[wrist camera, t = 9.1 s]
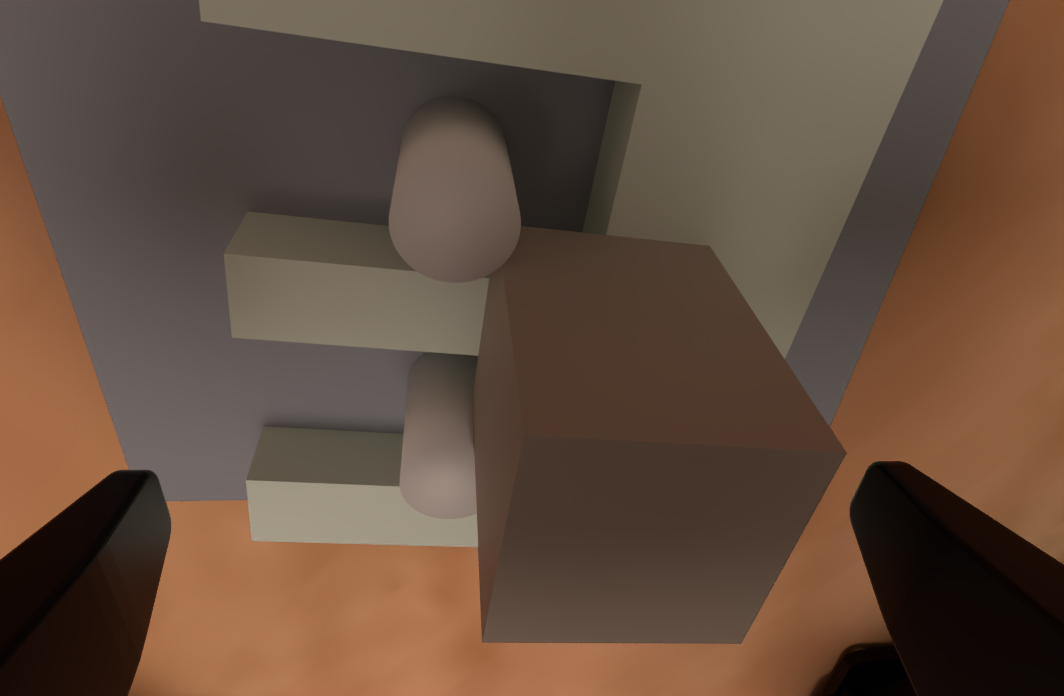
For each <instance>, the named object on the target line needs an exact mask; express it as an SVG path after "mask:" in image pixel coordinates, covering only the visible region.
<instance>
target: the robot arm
mask: <svg viewBox="0 0 1064 696" xmlns="http://www.w3.org/2000/svg"><path fill="white" fill-rule="evenodd" d="M850 520H851V524H852V527H853V530H854V533H855V536H856V539H857V542H858V545H859V548H860V551H861V554H862V557H863V560H864V563H865V566H866V569H867V572H868V575H869V578H870V581H871V584H872V587H873V590H874V593H875V596H876V599H877V602H878V605H879V608H880V610H881V613H882V616H883V619H884V621H885V624H886V627H887V629H888V631H889V634H890V636H891V639H892V641H893V643H894V646H895V648H891V649H869V650H858V651H854V652H852V653H850V654H848V655H847V656H846V657H845V658H844V659H843V661H842V662H841V664H840V666H839V668H838V669H837V671H836V673H835V675H834V676H833V678H832V680H831V681H830V683H829V685H828V687H827V688H826V690H825V692H824V694H823V695H822V696H1064V565H1063V564H1062V563H1060V562H1059V561H1057V560H1056V559H1054V558H1053V557H1051V556H1050V555H1048V554H1046V553H1045V552H1043V551H1042V550H1040V549H1039V548H1037V547H1036V546H1034V545H1033V544H1031V543H1030V542H1028V541H1026V540H1025V539H1023V538H1022V537H1020V536H1019V535H1017V534H1016V533H1014V532H1013V531H1011V530H1010V529H1008V528H1006V527H1005V526H1003V525H1002V524H1000V523H999V522H997V521H996V520H994V519H993V518H991V517H990V516H988V515H987V514H985V513H983V512H982V511H980V510H979V509H977V508H976V507H974V506H973V505H971V504H970V503H968V502H967V501H965V500H963V499H962V498H960V497H959V496H957V495H956V494H954V493H953V492H951V491H950V490H948V489H947V488H945V487H943V486H942V485H940V484H939V483H937V482H936V481H934V480H933V479H931V478H930V477H928V476H927V475H925V474H923V473H922V472H920V471H919V470H917V469H916V468H914V467H913V466H911V465H910V464H908V463H905V462H901V461H878V462H874V463H873V464H871V465H870V466H869V467H868V469H867V470H866V472H865V474H864V477H863V479H862V481H861V483H860V485H859V487H858V489H857V491H856V493H855V495H854V497H853V499H852V502H851V505H850ZM170 534H171V518H170V514H169V511H168V507H167V504H166V501H165V498H164V495H163V491H162V488H161V485H160V482H159V479H158V477H157V475H156V474H155V473H154V472H153V471H151V470H118V471H115V472H113V473H111V474H110V475H108V476H107V477H106V478H104V479H103V480H102V481H100V482H99V483H98V484H97V485H95V486H94V487H93V488H91V489H90V490H89V491H88V492H86V493H85V494H84V495H83V496H81V497H80V498H79V499H77V500H76V501H75V502H74V503H72V504H71V505H70V506H68V507H67V508H66V509H65V510H63V511H62V512H61V513H59V514H58V515H57V516H56V517H54V518H53V519H52V520H50V521H49V522H48V523H47V524H45V525H44V526H43V527H42V528H40V529H39V530H38V531H36V532H35V533H34V534H33V535H31V536H30V537H29V538H27V539H26V540H25V541H24V542H22V543H21V544H20V545H18V546H17V547H16V548H15V549H13V550H12V551H11V552H9V553H8V554H7V555H6V556H4V557H3V558H2V559H1V560H0V696H128V694H129V691H130V688H131V685H132V683H133V680H134V677H135V674H136V671H137V668H138V665H139V662H140V659H141V655H142V651H143V647H144V644H145V640H146V636H147V632H148V627H149V623H150V619H151V615H152V611H153V606H154V602H155V598H156V594H157V590H158V585H159V581H160V577H161V573H162V569H163V564H164V560H165V556H166V552H167V548H168V543H169V539H170Z"/></svg>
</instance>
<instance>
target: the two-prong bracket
mask: <svg viewBox="0 0 1064 696" xmlns="http://www.w3.org/2000/svg"><path fill="white" fill-rule="evenodd" d="M942 3H943V0H199V6H200V17H201V21H204V22H211V23H218V24H225V25H232V26H239V27H246V28H252V29H259V30H266V31H273V32H280V33H287V34H294V35H301V36H308V37H315V38H322V39H329V40H336V41H343V42H350V43H357V44H364V45H371V46H378V47H384V48H391V49H398V50H405V51H412V52H419V53H426V54H433V55H440V56H447V57H454V58H461V59H468V60H475V61H482V62H489V63H496V64H503V65H510V66H517V67H523V68H530V69H537V70H544V71H551V72H558V73H565V74H572V75H579V76H586V77H593V78H600V79H607V80H614V81H615V84H614V89H613V93H612V98H611V103H610V107H609V112H608V116H607V121H606V126H605V130H604V135H603V139H602V144H601V149H600V153H599V158H598V162H597V167H596V172H595V176H594V181H593V186H592V190H591V195H590V199H589V204H588V209H587V213H586V218H585V222H584V227H583V232H573V231H564V230H554V229H545V228H535V227H526V226H521V230H520V236H519V239H518V243H517V245H516V247H515V249H514V251H513V253H512V254H511V256H510V257H509V258H508V260H507V261H506V262H505V263H504V264H503V265H502V266H501V267H500V268H498V269H497V270H496V271H494V272H493V273H491V274H489V275H487V276H485V277H483V278H480V279H478V280H474V281H470V282H463V283H449V282H442V281H438V280H434V279H431V278H429V277H426V276H424V275H422V274H421V273H419V272H417V271H416V270H414V269H413V268H412V267H410V266H409V265H408V264H407V263H406V262H405V261H404V260H403V259H402V257H401V256H400V255H399V253H398V252H397V250H396V248H395V246H394V244H393V242H392V239H391V235H390V231H389V226H385V225H375V224H365V223H355V222H346V221H336V220H326V219H316V218H307V217H297V216H287V215H277V214H267V213H258V212H247V213H246V215H245V217H244V219H243V220H242V222H241V224H240V226H239V227H238V229H237V231H236V233H235V235H234V236H233V238H232V240H231V242H230V243H229V245H228V247H227V249H226V250H225V252H224V262H225V273H226V283H227V293H228V303H229V314H230V324H231V334H232V338H243V339H257V340H270V341H284V342H297V343H311V344H325V345H338V346H352V347H366V348H379V349H393V350H407V351H420V352H434V353H447V354H461V355H475V356H478V361H477V368H476V375H475V382H474V389H473V397H472V407H473V432H474V456H475V481H476V505H477V513H476V514H474V515H471V516H468V517H464V518H458V519H440V518H434V517H430V516H427V515H424V514H422V513H420V512H418V511H416V510H415V509H413V508H412V507H411V506H410V505H409V504H408V503H407V502H406V501H405V500H404V498H403V496H402V494H401V491H400V486H399V484H400V470H401V458H402V445H403V434H399V433H380V432H362V431H343V430H324V429H306V428H287V427H268V426H263V429H262V432H261V435H260V438H259V441H258V444H257V447H256V450H255V453H254V457H253V460H252V463H251V466H250V469H249V472H248V475H247V478H246V488H247V498H248V508H249V518H250V529H251V539H252V541H272V542H308V543H344V544H381V545H417V546H453V547H478V554H479V579H480V603H481V628H482V642H496V643H707V644H741V643H742V641H743V639H744V637H745V636H746V634H747V632H748V630H749V628H750V627H751V625H752V623H753V621H754V619H755V617H756V616H757V614H758V612H759V610H760V608H761V607H762V605H763V603H764V601H765V599H766V598H767V596H768V594H769V592H770V590H771V589H772V587H773V585H774V583H775V581H776V580H777V578H778V576H779V574H780V572H781V571H782V569H783V567H784V565H785V563H786V561H787V560H788V558H789V556H790V554H791V552H792V551H793V549H794V547H795V545H796V543H797V542H798V540H799V538H800V536H801V534H802V533H803V531H804V529H805V527H806V525H807V524H808V522H809V520H810V518H811V516H812V515H813V513H814V511H815V509H816V507H817V505H818V504H819V502H820V500H821V498H822V496H823V495H824V493H825V491H826V489H827V487H828V486H829V484H830V482H831V480H832V478H833V477H834V475H835V473H836V471H837V469H838V468H839V466H840V464H841V462H842V460H843V459H844V457H845V455H846V451H845V450H844V448H843V447H842V445H841V444H840V442H839V441H838V439H837V438H836V436H835V435H834V433H833V431H832V430H831V428H830V427H829V425H828V424H827V422H826V421H825V419H824V418H823V416H822V415H821V413H820V412H819V410H818V409H817V407H816V406H815V404H814V403H813V401H812V400H811V398H810V397H809V395H808V394H807V392H806V391H805V389H804V388H803V386H802V385H801V383H800V382H799V380H798V379H797V377H796V376H795V374H794V373H793V371H792V370H791V368H790V366H789V365H788V363H787V362H786V360H785V358H786V355H787V353H788V351H789V349H790V346H791V344H792V342H793V340H794V337H795V335H796V333H797V330H798V328H799V326H800V324H801V321H802V319H803V317H804V315H805V312H806V310H807V308H808V306H809V303H810V301H811V299H812V297H813V294H814V292H815V290H816V288H817V285H818V283H819V281H820V278H821V276H822V274H823V272H824V269H825V267H826V265H827V263H828V260H829V258H830V256H831V254H832V251H833V249H834V247H835V245H836V242H837V240H838V238H839V235H840V233H841V231H842V229H843V226H844V224H845V222H846V220H847V217H848V215H849V213H850V211H851V208H852V206H853V204H854V202H855V199H856V197H857V195H858V193H859V190H860V188H861V186H862V183H863V181H864V179H865V177H866V174H867V172H868V170H869V168H870V165H871V163H872V161H873V159H874V156H875V154H876V152H877V150H878V147H879V145H880V143H881V140H882V138H883V136H884V134H885V131H886V129H887V127H888V125H889V122H890V120H891V118H892V116H893V113H894V111H895V109H896V107H897V104H898V102H899V100H900V98H901V95H902V93H903V91H904V88H905V86H906V84H907V82H908V79H909V77H910V75H911V73H912V70H913V68H914V66H915V64H916V61H917V59H918V57H919V55H920V52H921V50H922V48H923V46H924V43H925V41H926V39H927V36H928V34H929V32H930V30H931V27H932V25H933V23H934V21H935V18H936V16H937V14H938V12H939V9H940V7H941V5H942Z"/></svg>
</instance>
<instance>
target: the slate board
mask: <svg viewBox="0 0 1064 696" xmlns="http://www.w3.org/2000/svg"><path fill="white" fill-rule="evenodd" d="M1008 3H1009V0H943V3H942V5H941V7H940V9H939V12H938V14H937V16H936V18H935V21H934V23H933V25H932V27H931V30H930V32H929V34H928V36H927V39H926V41H925V43H924V46H923V48H922V50H921V52H920V55H919V57H918V59H917V61H916V64H915V66H914V68H913V70H912V73H911V75H910V77H909V79H908V82H907V84H906V86H905V88H904V91H903V93H902V95H901V98H900V100H899V102H898V104H897V107H896V109H895V111H894V113H893V116H892V118H891V120H890V122H889V125H888V127H887V129H886V131H885V134H884V136H883V138H882V140H881V143H880V145H879V147H878V150H877V152H876V154H875V156H874V159H873V161H872V163H871V165H870V168H869V170H868V172H867V174H866V177H865V179H864V181H863V183H862V186H861V188H860V190H859V193H858V195H857V197H856V199H855V202H854V204H853V206H852V208H851V211H850V213H849V215H848V217H847V220H846V222H845V224H844V226H843V229H842V231H841V233H840V235H839V238H838V240H837V242H836V245H835V247H834V249H833V251H832V254H831V256H830V258H829V260H828V263H827V265H826V267H825V269H824V272H823V274H822V276H821V278H820V281H819V283H818V285H817V288H816V290H815V292H814V294H813V297H812V299H811V301H810V303H809V306H808V308H807V310H806V312H805V315H804V317H803V319H802V321H801V324H800V326H799V328H798V330H797V333H796V335H795V337H794V340H793V342H792V344H791V346H790V349H789V351H788V353H787V355H786V358H785V360H786V362H787V363H788V365H789V366H790V368H791V370H792V371H793V373H794V374H795V376H796V377H797V379H798V380H799V382H800V383H801V385H802V386H803V388H804V389H805V391H806V392H807V394H808V395H809V397H810V398H811V400H812V401H813V403H814V404H815V406H816V407H817V409H818V410H819V412H820V413H821V415H822V416H823V418H824V419H825V421H826V422H827V424H828V425H829V427H830V425H831V423H832V421H833V418H834V416H835V413H836V411H837V409H838V406H839V404H840V402H841V399H842V397H843V394H844V392H845V390H846V387H847V385H848V383H849V380H850V378H851V375H852V373H853V371H854V368H855V366H856V364H857V361H858V359H859V356H860V354H861V352H862V349H863V347H864V345H865V342H866V340H867V337H868V335H869V333H870V330H871V328H872V326H873V323H874V321H875V318H876V316H877V314H878V311H879V309H880V307H881V304H882V302H883V300H884V297H885V295H886V292H887V290H888V288H889V285H890V283H891V281H892V278H893V276H894V273H895V271H896V269H897V266H898V264H899V262H900V259H901V257H902V254H903V252H904V250H905V247H906V245H907V243H908V240H909V238H910V235H911V233H912V231H913V228H914V226H915V224H916V221H917V219H918V216H919V214H920V212H921V209H922V207H923V205H924V202H925V200H926V197H927V195H928V193H929V190H930V188H931V186H932V183H933V181H934V178H935V176H936V174H937V171H938V169H939V167H940V164H941V162H942V159H943V157H944V155H945V152H946V150H947V148H948V145H949V143H950V140H951V138H952V136H953V133H954V131H955V129H956V126H957V124H958V121H959V119H960V117H961V114H962V112H963V110H964V107H965V105H966V102H967V100H968V98H969V95H970V93H971V91H972V88H973V86H974V83H975V81H976V79H977V76H978V74H979V72H980V69H981V67H982V64H983V62H984V60H985V57H986V55H987V53H988V50H989V48H990V45H991V43H992V41H993V38H994V36H995V34H996V31H997V29H998V26H999V24H1000V22H1001V19H1002V17H1003V15H1004V12H1005V10H1006V7H1007V5H1008ZM614 84H615V81H614V80H607V79H600V78H593V77H586V76H579V75H572V74H565V73H558V72H551V71H544V70H537V69H530V68H523V67H517V66H510V65H503V64H496V63H489V62H482V61H475V60H468V59H461V58H454V57H447V56H440V55H433V54H426V53H419V52H412V51H405V50H398V49H391V48H384V47H378V46H371V45H364V44H357V43H350V42H343V41H336V40H329V39H322V38H315V37H308V36H301V35H294V34H287V33H280V32H273V31H266V30H259V29H252V28H246V27H239V26H232V25H225V24H218V23H211V22H204V21H201V17H200V6H199V0H0V95H1V98H2V101H3V104H4V107H5V110H6V112H7V115H8V118H9V121H10V124H11V127H12V130H13V133H14V136H15V139H16V142H17V144H18V147H19V150H20V153H21V156H22V159H23V162H24V165H25V168H26V171H27V174H28V177H29V179H30V182H31V185H32V188H33V191H34V194H35V197H36V200H37V203H38V206H39V209H40V211H41V214H42V217H43V220H44V223H45V226H46V229H47V232H48V235H49V238H50V241H51V244H52V246H53V249H54V252H55V255H56V258H57V261H58V264H59V267H60V270H61V273H62V276H63V278H64V281H65V284H66V287H67V290H68V293H69V296H70V299H71V302H72V305H73V308H74V311H75V313H76V316H77V319H78V322H79V325H80V328H81V331H82V334H83V337H84V340H85V343H86V345H87V348H88V351H89V354H90V357H91V360H92V363H93V366H94V369H95V372H96V375H97V378H98V380H99V383H100V386H101V389H102V392H103V395H104V398H105V401H106V404H107V407H108V410H109V412H110V415H111V418H112V421H113V424H114V427H115V430H116V433H117V436H118V439H119V442H120V445H121V447H122V450H123V453H124V456H125V459H126V462H127V465H128V468H129V470H151V471H153V472H154V473H155V474H156V475H157V477H158V479H159V482H160V485H161V488H162V491H163V495H164V498H165V501H209V500H248V498H247V488H246V478H247V475H248V472H249V469H250V466H251V463H252V460H253V457H254V453H255V450H256V447H257V444H258V441H259V438H260V435H261V432H262V429H263V426H268V427H287V428H306V429H324V430H343V431H362V432H380V433H399V434H403V445H402V458H401V470H400V484H399V486H400V491H401V494H402V496H403V498H404V500H405V501H406V502H407V503H408V504H409V505H410V506H411V507H412V508H413V509H415V510H416V511H418V512H420V513H422V514H424V515H427V516H430V517H434V518H440V519H458V518H464V517H468V516H471V515H474V514H476V513H477V505H476V481H475V456H474V432H473V407H472V397H473V389H474V382H475V375H476V368H477V361H478V356H475V355H461V354H447V353H434V352H420V351H407V350H393V349H379V348H366V347H352V346H338V345H325V344H311V343H297V342H284V341H270V340H257V339H243V338H232V334H231V324H230V314H229V303H228V293H227V283H226V273H225V262H224V252H225V250H226V249H227V247H228V245H229V243H230V242H231V240H232V238H233V236H234V235H235V233H236V231H237V229H238V227H239V226H240V224H241V222H242V220H243V219H244V217H245V215H246V213H247V212H258V213H267V214H277V215H287V216H297V217H307V218H316V219H326V220H336V221H346V222H355V223H365V224H375V225H385V226H389V231H390V235H391V239H392V242H393V244H394V246H395V248H396V250H397V252H398V253H399V255H400V256H401V257H402V259H403V260H404V261H405V262H406V263H407V264H408V265H409V266H410V267H412V268H413V269H414V270H416V271H417V272H419V273H421V274H422V275H424V276H426V277H429V278H431V279H434V280H438V281H442V282H449V283H463V282H470V281H474V280H478V279H480V278H483V277H485V276H487V275H489V274H491V273H493V272H494V271H496V270H497V269H498V268H500V267H501V266H502V265H503V264H504V263H505V262H506V261H507V260H508V258H509V257H510V256H511V254H512V253H513V251H514V249H515V247H516V245H517V243H518V239H519V236H520V230H521V226H526V227H535V228H545V229H554V230H564V231H573V232H583V227H584V222H585V218H586V213H587V209H588V204H589V199H590V195H591V190H592V186H593V181H594V176H595V172H596V167H597V162H598V158H599V153H600V149H601V144H602V139H603V135H604V130H605V126H606V121H607V116H608V112H609V107H610V103H611V98H612V93H613V89H614Z"/></svg>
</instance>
